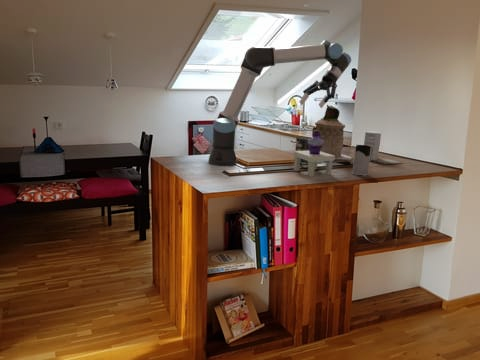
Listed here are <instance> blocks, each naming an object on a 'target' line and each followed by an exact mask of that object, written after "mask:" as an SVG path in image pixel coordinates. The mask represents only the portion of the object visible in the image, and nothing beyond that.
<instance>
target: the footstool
mask: <svg viewBox="0 0 480 360" xmlns="http://www.w3.org/2000/svg"><path fill="white" fill-rule="evenodd" d="M292 155H293V157H294V159H295V161H293V162H294V163H293V171H295V172H299V171H300V170H301V169H300V168H301V164H300V161H301V159H304V160H307V161H309V164H307V165H308V166H307V173H306V174H307V176H308V177H314V175H315V174H314V173H315V170H317V169H318V164H319V163H320V162H326V163H325V171H324V174H325V175H328V176H330V175H332V171H333V169H332V168H333V162H334V161H335V160H336V159H335V156H334V155H331V154H328V153H324V152H321V151H320V153H319V155H315V154H310V153H309V151H293V154H292ZM318 162H319V163H318Z"/></svg>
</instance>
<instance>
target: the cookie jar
mask: <svg viewBox="0 0 480 360" xmlns="http://www.w3.org/2000/svg"><path fill="white" fill-rule="evenodd" d="M339 117H340V110H339V109H338V108H337V107H334V106H333V105H329V104H327V105H326V109H325V113H324V116H323V117H322V118H320V119H318V120H317V121H316V122H314V124H315V126H313V127H312V130H311V131H312V132H311V136H312V137H311V138H313V135H312V133H313V132H314V130H319V131H320V133H321V136H319V139H321V140H323V141H324V143H323V147H322V148H321V152H324V153H328V154H331V155H334V156H335V160H339V161H340V160H344V161H351V160H352V157H351V156H348V155H345V154H343V153H341V152H342V150H343V148H344V129H345V128H346V125H345V124H344V123H342V122H341V121H340V120H339Z"/></svg>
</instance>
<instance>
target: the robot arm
mask: <svg viewBox="0 0 480 360" xmlns="http://www.w3.org/2000/svg"><path fill="white" fill-rule="evenodd" d="M317 60H326V61H327V62H328V63H329V65H331V66H329V68H328V69H327V71H326V72H325V73H324V75H322V77H321V80H320V81H319V80H315V81H314V83H312V84H310V85H309V86H307V88H305V89H304V90H302V92H303V95H302V97H301V99H300V100H299V104H300V106H303V105H305V102H306V101H307V100H308V99H309V97H310V95H313V94H314V93H316V92H318V91H319V92H320V91H326V95H324V96H323V98H322V99H321V100H320V102H319V103H318V106H319V108H320V109H323V107H324V106H325V104H326V103H328V101H329V100H331V99H335V95H336V92H337V88H338V84H337V82H338V80H339V79H340V78H341V76H342V74H344V72H345V71H346V70H347V68H348V67H349V66H350V64H351V62H352V57H351V55H349V54H348V53H346V52H344V49H343V46H342V45H341V44H340V43H338V42H332V43H331V42H330V41H329V40H327V39H324V40H323V41H322V42H320V43H319V44H311V45H310V44H309V45H302V46H301V45H300V46H288V47H278V48H277V47H276V48H275V46H258V45H255V46H252V47H250V48H248V49H247V50H246V52H245V54H244V58H243V60H242V62H241V64H240V69H241V70H240V72H239V73H240V74H239V75H238V78H237V80H236V83H235V85H234V87H233V89H232V92H231V93H230V96H229V97H228V100H227V103H226V104H225V108H224V109H223V111H222V110H221V111H220V112H219V113H218V115H217V118H215V120H213V123H212V124H213V125H212V148H211V151H210V154H209V157H208V164H211V165H213V166H219V167H220V166H221V167H224V166H225V167H229V166H235V165H237V162H238V161H237V157H236V152H235V141H236V139H235V138H236V128H237V126H238V124H239V122H240V120H239V115H240V113H241V111H242V109H243V106H244V104H245V102H246V100H247V97H248V96H249V94H250V91H251V89H252V86H253V85H254V83H255V80H256V78H258V77H259V76H261V73H262V72H263V69H264V68H268V67H274V66H275V65H278V64H288V63H298V62H306V61H307V62H309V61H317Z"/></svg>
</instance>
